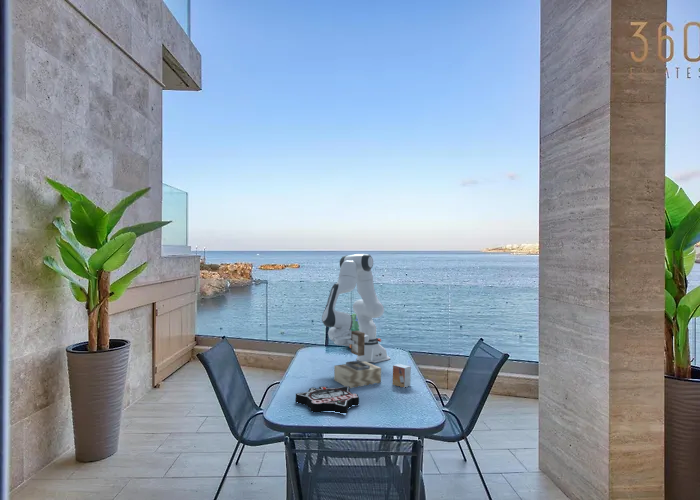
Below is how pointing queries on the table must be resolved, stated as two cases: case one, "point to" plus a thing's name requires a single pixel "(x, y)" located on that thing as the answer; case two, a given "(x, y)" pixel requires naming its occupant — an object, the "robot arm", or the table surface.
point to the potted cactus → (355, 323)
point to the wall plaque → (328, 399)
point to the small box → (401, 375)
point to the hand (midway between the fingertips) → (358, 342)
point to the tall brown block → (358, 343)
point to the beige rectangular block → (357, 374)
